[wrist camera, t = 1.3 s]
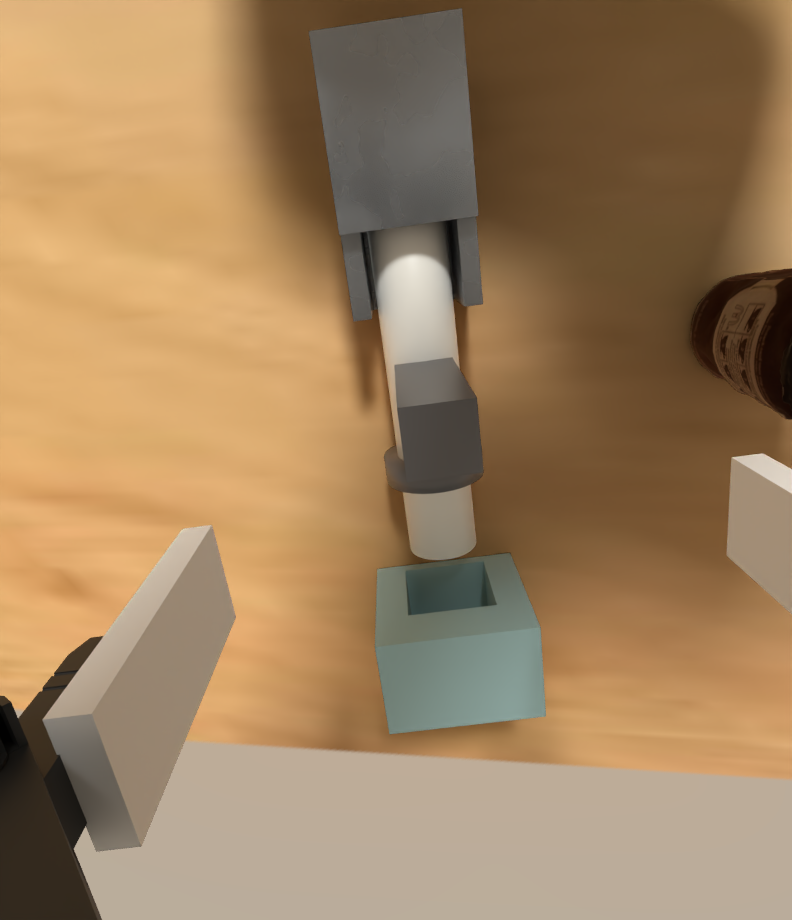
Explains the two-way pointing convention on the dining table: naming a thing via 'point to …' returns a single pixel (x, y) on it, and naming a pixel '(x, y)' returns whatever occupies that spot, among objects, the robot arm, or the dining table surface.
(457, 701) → the socket
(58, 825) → the robot arm
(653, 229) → the dining table surface
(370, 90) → the sleeve
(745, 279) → the coffee cup
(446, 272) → the tube
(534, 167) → the dining table surface
